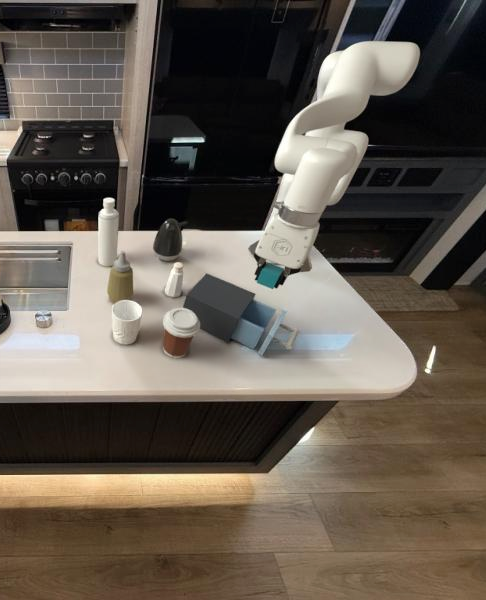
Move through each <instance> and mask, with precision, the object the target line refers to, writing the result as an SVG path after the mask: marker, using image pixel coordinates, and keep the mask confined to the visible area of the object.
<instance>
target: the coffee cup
mask: <svg viewBox="0 0 486 600" xmlns="http://www.w3.org/2000/svg"><path fill="white" fill-rule="evenodd" d="M162 325H163V327H164V332H163V342H162V350H163V352H164V353H165V354H166V355H167V356H169V357H171V358H173V359H174V358H175V359H180V358H183V357H184V356H186V354H187V353H188V350H189V349H190V346H191V343H192V341H193V339H194V337H195V336H196V335H197V334H198V333H199V331H200V330H201V329H200V322H199V320H198V318H197V316H196V314H195V313H193V312H192V311H191V310H189V309H186V308H183V307H175V308H172V309H171V310H169V311H167V312H166V313H165V314H164V315H163V319H162Z"/></svg>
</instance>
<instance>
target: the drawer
mask: <svg viewBox="0 0 486 600" xmlns="http://www.w3.org/2000/svg"><path fill="white" fill-rule="evenodd" d="M276 310H277V308H274V307H272V306H270V305H267V304H265V303H262V302H260V301H258V300H256V299H252V301H251V302H250V304H249V305H248V307H247V308H246V310H245V311H244V312H243V314H242V315H241V317H240V318H239V320H238V322H237V324H236V327H235V329H234V331H233V333H232V336H231V339H232V340H234V341H236V342H238V343H240V344H242V345H244V346H246V347H248V348H250V349H252V350H254V349H255V348H256V346H257V345H258V343H259V341H260V339H261V338H262V336H263V334H264V332H265V331H266V329H267V327H268V326H269V323H270V322H271V320H272V318H273V317H274V314H275V313H276ZM287 312H288V311H287V310H285V309H282V310H281V311H280V313H279V315H278V317H277V318H276V319H275V322H274V323H273V325H272V327H271V328H270V330H269V332H268V334H267V335H266V338H265V340H264V341H263V343H262V344H261V346H260V348H259V350H258V352H257V355H258V356H260V357H263V355H264V354H265V352H266V351H267V349H268V347H269V345H270V343H271V341H274V342H276V343H278V344H280V345H282V346H283V347H285V349H286V350H292V348H293V346H294V344H295V343H296V340H297V338H298V336H299V334H300V330H299V329H298V328H292V327H289V326H287V325H285V324H282V323H283V320H284V318H285V316H286V315H287ZM279 328H282V329H284V330H286V331H288V332H291V334H290V335H289V338H288V339H287V342H286V341H283V340H281V339H279V338H276V337H275V334H276V333H277V331H278V329H279Z"/></svg>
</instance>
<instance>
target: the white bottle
mask: <svg viewBox="0 0 486 600" xmlns="http://www.w3.org/2000/svg"><path fill="white" fill-rule="evenodd" d="M115 203H116V199H115V198H113V197H105V198H103V203H102V205H103V206H102V207H103V208H102V209H101V210H100V211H99V212H98V223H97V224H98V227H97V229H98V230H97V232H98V234H97V235H98V238H97V239H98V240H97V241H98V243H97V246H98V247H97V249H98V250H97V251H98V253H97V256H98V257H97V260H98V263H99V265H101V266H102V267H112V266H114V261H115V260H117V259H118V243H119V241H118V239H119V224H120V223H119V221H120V213H119V211H118V210H117V209H115V206H116V205H115Z"/></svg>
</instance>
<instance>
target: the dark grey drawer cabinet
mask: <svg viewBox="0 0 486 600" xmlns="http://www.w3.org/2000/svg"><path fill="white" fill-rule="evenodd" d="M256 295H257V294H256V293H255V292H252V291H251V290H248V289H245V288H243V287H241V286H238V285H236V284H234V283H231V282H228V281H226V280H224V279H221V278H219V277H217V276H214V275H212V274H209V273H207V272H206V273H205V274H204V275H203V277H201V278H200V279H199V280H198V282H196V284H195V285H194V286H193V287H192V288H191V289H189V291H188V292H187V293H186V294H185V298H184V302H183V306H182V308H186V309H189V310H191V311H192V312H193V313H195V314H196V316H197V318H198V320H199V322H200V330H201V331H203V332H204V333H207V334H209V335H210V336H212V337H214V338H217V339H218V340H219V341H223V342H224V343H226V344H229V342H230V341H231V339H232V338H231V336H232V333H233V331H234V329H235V327H236V324H237V322H238V320H239V318H240V317H241V315H242V314H243V312H244V311H245V310H246V308H247V307H248V305H249V304H250V302H251V301H252V299H253V300H255V297H256Z"/></svg>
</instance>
